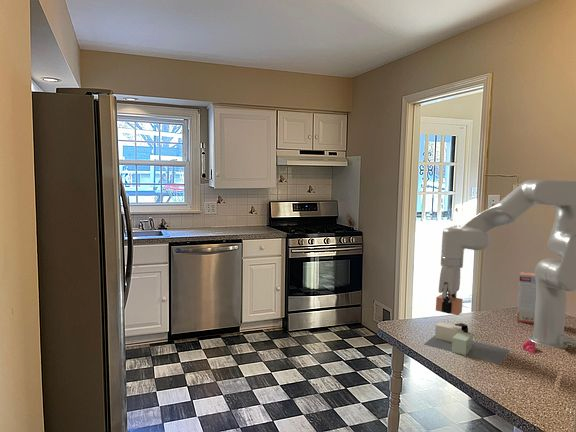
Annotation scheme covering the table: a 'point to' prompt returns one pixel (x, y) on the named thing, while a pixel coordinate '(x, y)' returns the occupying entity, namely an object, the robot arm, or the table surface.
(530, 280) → the cracker box
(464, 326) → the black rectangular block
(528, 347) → the toy pieces
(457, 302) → the terracotta brick
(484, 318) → the table surface
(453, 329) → the cream brick
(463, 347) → the sage brick
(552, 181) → the robot arm
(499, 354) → the baseplate
